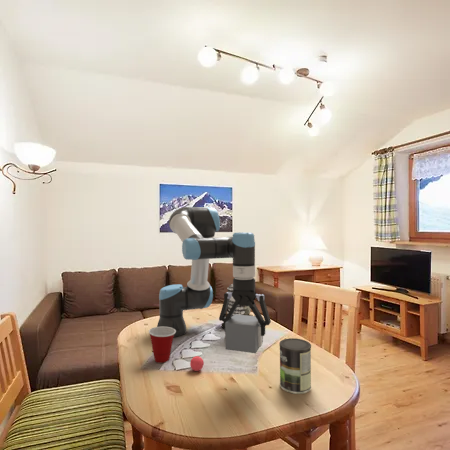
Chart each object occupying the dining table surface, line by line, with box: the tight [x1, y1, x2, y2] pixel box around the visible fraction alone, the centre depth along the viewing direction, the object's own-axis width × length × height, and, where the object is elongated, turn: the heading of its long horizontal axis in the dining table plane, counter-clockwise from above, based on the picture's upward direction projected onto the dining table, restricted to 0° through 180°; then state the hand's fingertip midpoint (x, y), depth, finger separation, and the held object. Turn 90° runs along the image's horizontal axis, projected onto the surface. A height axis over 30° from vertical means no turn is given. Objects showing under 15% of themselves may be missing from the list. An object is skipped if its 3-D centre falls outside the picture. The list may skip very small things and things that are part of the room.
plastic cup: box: [148, 326, 176, 364], centre depth 126 cm, size 11×11×12 cm
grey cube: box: [224, 314, 264, 354], centre depth 106 cm, size 10×10×9 cm
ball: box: [189, 355, 205, 372], centre depth 117 cm, size 5×5×5 cm
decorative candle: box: [226, 283, 245, 316], centre depth 151 cm, size 9×9×25 cm
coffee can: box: [278, 337, 312, 395], centre depth 104 cm, size 10×10×14 cm
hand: (244, 343), depth 106 cm, fingers closed on grey cube, 10 cm apart
